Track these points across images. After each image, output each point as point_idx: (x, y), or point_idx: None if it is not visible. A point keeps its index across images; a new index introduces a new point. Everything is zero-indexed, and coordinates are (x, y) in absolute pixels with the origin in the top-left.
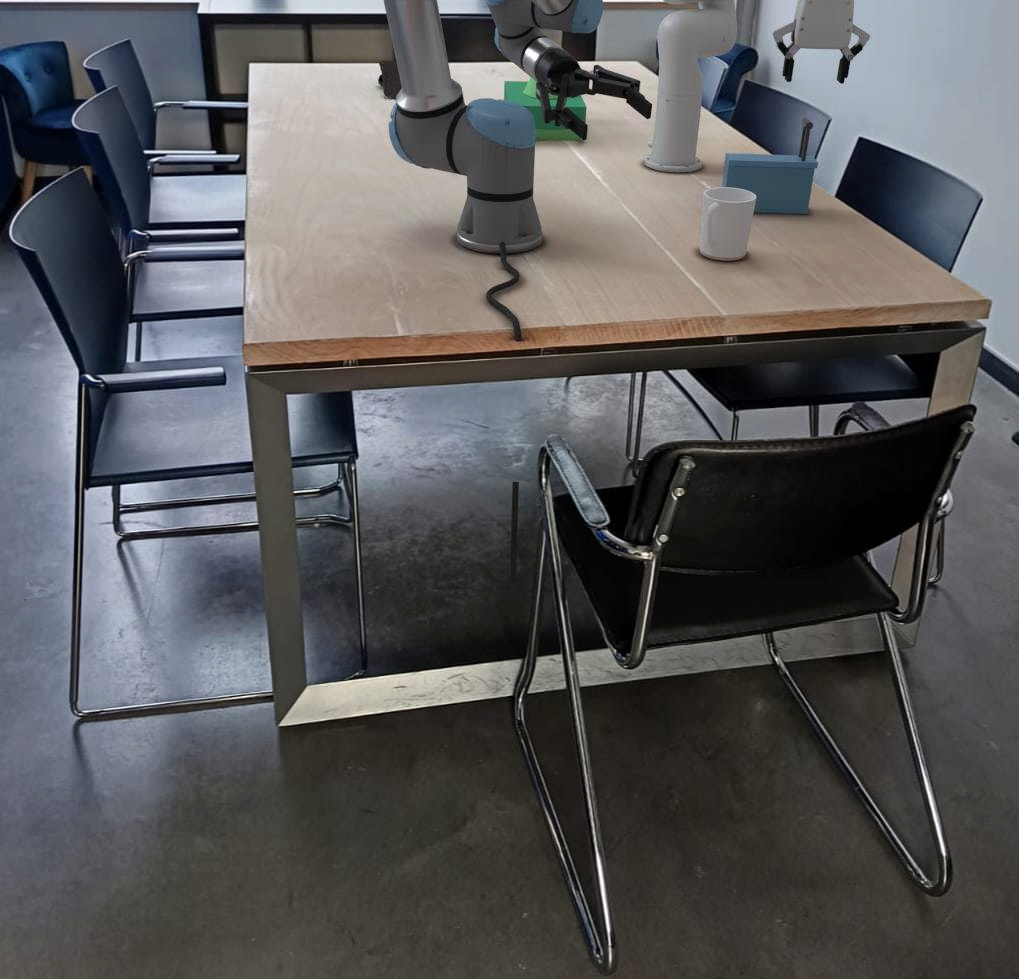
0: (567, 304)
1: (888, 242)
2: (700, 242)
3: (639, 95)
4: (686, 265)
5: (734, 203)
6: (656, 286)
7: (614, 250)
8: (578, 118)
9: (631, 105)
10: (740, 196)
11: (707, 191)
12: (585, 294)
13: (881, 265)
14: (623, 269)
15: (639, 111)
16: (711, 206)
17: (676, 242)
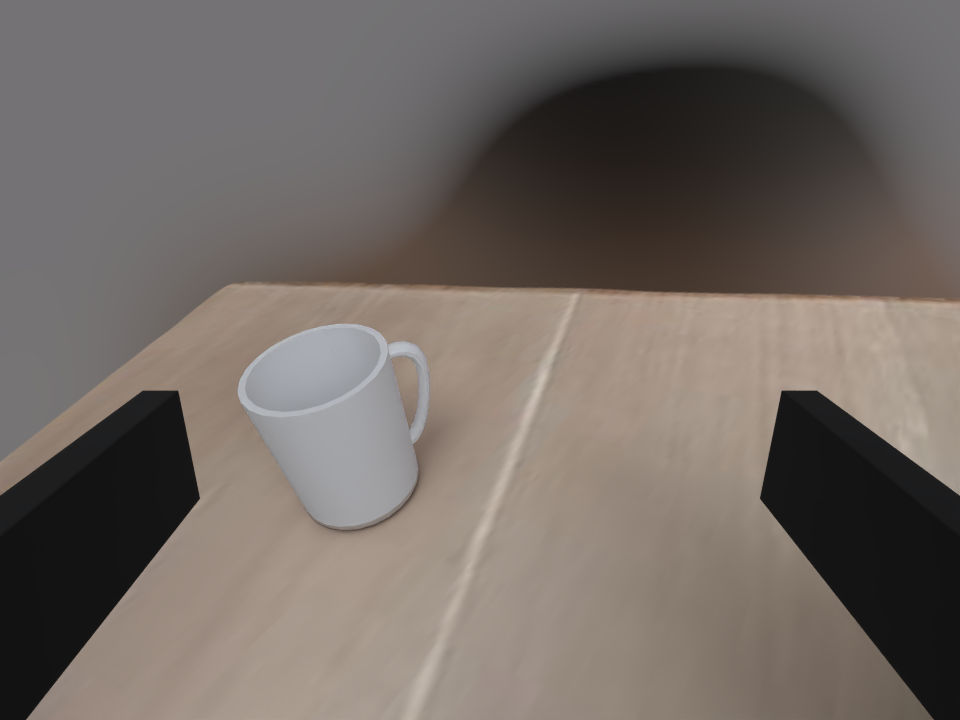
0: (868, 357)
1: (30, 447)
2: (400, 486)
3: (34, 483)
4: (494, 454)
5: (361, 327)
6: (630, 385)
7: (624, 604)
8: (868, 450)
9: (49, 672)
10: (254, 403)
11: (336, 399)
12: (813, 385)
13: (181, 374)
14: (663, 473)
15: (139, 558)
16: (410, 345)
17: (395, 598)
